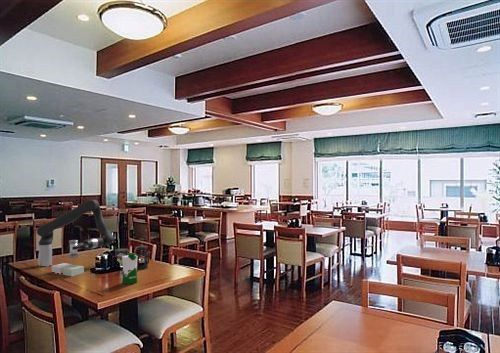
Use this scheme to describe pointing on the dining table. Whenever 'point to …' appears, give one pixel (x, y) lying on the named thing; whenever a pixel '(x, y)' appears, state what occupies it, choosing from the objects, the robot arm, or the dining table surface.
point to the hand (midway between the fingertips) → (70, 247)
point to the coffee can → (121, 254)
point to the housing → (72, 252)
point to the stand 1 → (60, 267)
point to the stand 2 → (73, 270)
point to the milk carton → (129, 268)
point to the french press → (141, 265)
